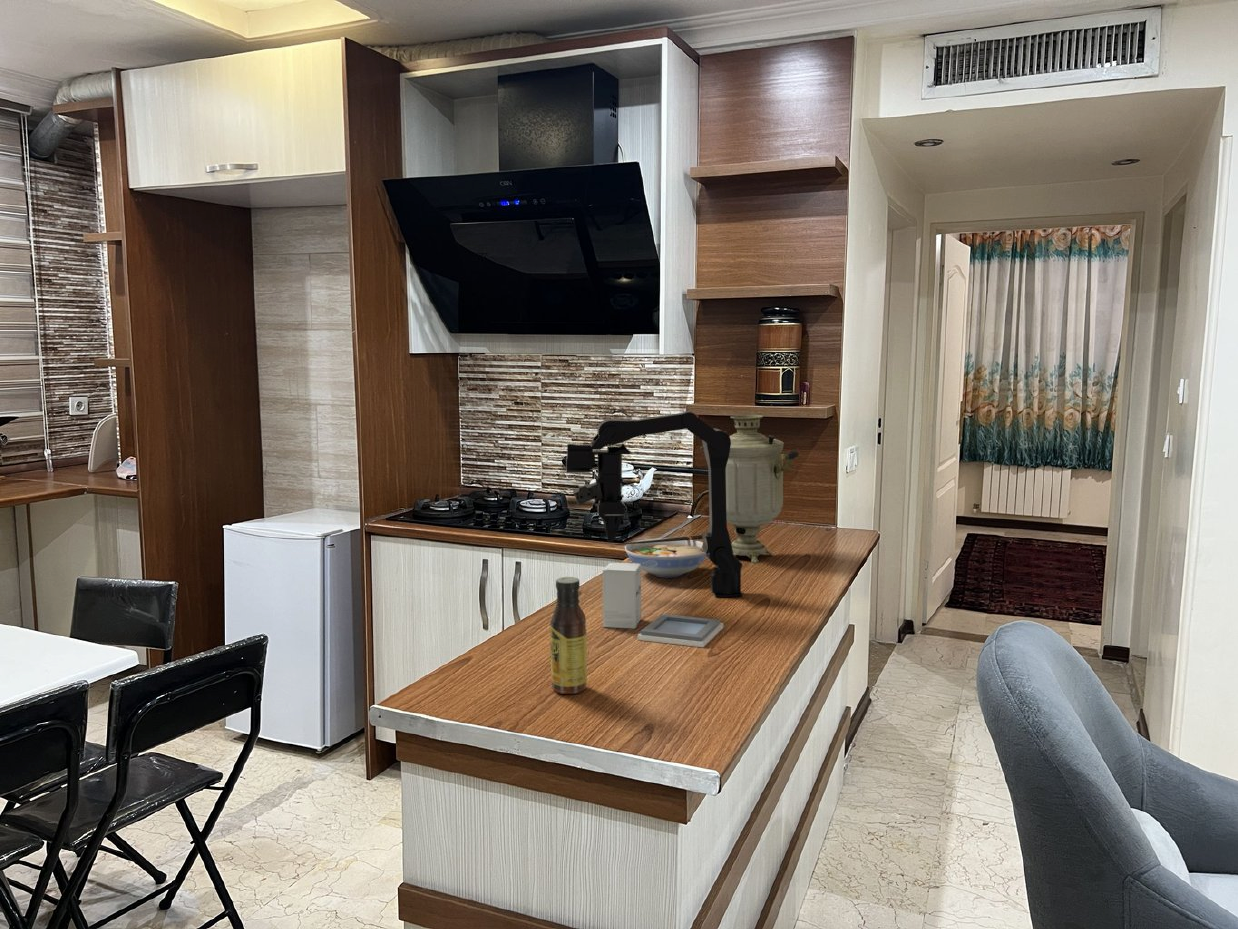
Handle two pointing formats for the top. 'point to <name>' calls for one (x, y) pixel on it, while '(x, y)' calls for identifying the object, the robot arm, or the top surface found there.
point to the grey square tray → (681, 630)
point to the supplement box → (622, 595)
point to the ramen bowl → (667, 555)
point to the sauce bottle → (568, 640)
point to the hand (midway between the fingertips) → (609, 538)
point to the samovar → (753, 483)
